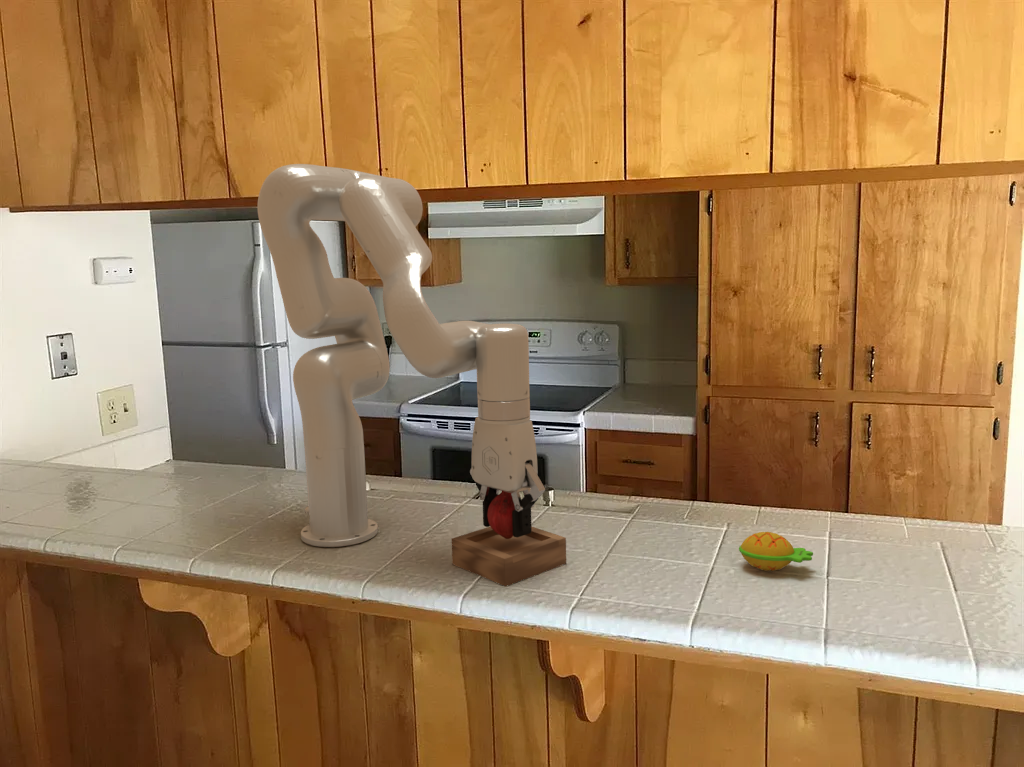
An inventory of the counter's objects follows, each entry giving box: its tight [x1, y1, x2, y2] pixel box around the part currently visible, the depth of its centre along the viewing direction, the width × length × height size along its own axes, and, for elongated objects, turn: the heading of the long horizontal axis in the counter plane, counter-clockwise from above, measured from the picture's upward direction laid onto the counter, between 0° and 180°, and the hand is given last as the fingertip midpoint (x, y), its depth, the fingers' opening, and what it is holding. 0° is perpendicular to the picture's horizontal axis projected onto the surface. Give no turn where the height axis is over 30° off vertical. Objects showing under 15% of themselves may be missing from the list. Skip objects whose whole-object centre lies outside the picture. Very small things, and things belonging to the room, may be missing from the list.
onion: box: [487, 491, 516, 539], centre depth 124 cm, size 6×6×8 cm
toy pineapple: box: [738, 531, 814, 572], centre depth 120 cm, size 7×10×5 cm
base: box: [450, 525, 567, 587], centre depth 125 cm, size 12×12×4 cm
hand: (507, 528), depth 125 cm, fingers closed on onion, 5 cm apart
